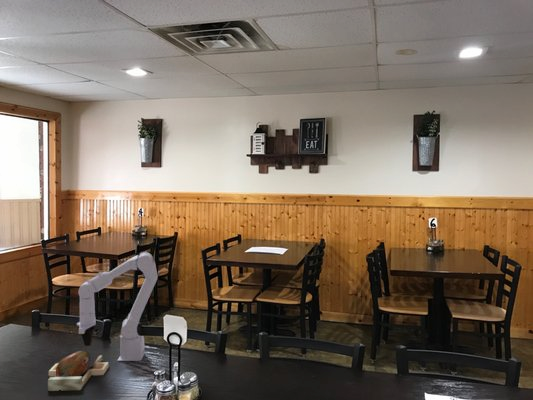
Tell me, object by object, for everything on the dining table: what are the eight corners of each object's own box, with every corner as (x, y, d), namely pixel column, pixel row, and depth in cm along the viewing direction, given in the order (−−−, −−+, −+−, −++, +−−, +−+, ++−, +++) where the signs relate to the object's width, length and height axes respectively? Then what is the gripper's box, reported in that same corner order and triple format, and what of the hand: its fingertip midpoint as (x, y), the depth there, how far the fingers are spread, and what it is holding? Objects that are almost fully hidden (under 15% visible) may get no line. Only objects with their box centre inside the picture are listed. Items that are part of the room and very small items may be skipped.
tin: (61, 386, 155) (60, 363, 154) (54, 384, 156) (53, 361, 155) (90, 369, 169) (90, 347, 169) (84, 367, 170) (84, 346, 170)
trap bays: (108, 367, 171) (108, 362, 171) (103, 375, 164) (103, 369, 164) (56, 368, 169) (56, 363, 169) (48, 376, 162) (48, 371, 162)
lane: (102, 360, 177) (102, 350, 177) (80, 390, 152) (80, 378, 152) (74, 360, 177) (74, 350, 176) (47, 390, 151) (47, 379, 151)
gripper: (83, 307, 182) (83, 338, 183) (70, 318, 168) (71, 352, 168) (100, 306, 183) (100, 338, 183) (89, 317, 168) (89, 352, 169)
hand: (87, 345), depth 176 cm, fingers closed
